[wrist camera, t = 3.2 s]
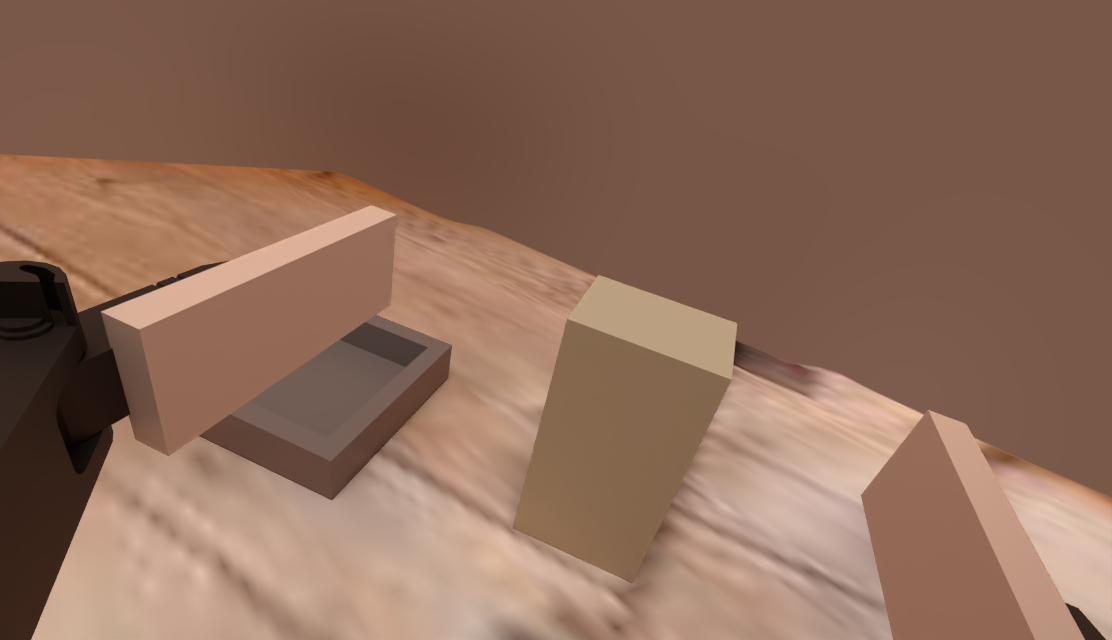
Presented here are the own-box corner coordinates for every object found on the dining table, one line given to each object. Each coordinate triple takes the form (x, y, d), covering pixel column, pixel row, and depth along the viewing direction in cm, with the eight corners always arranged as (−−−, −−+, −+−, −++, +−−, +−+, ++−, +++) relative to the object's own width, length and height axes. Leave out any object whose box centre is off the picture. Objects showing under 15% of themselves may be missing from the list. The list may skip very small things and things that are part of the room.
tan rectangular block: (649, 512, 32) (737, 323, 25) (632, 582, 28) (731, 379, 21) (544, 467, 33) (598, 275, 26) (513, 527, 29) (567, 318, 22)
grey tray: (447, 377, 39) (452, 345, 37) (331, 499, 28) (330, 461, 27) (287, 311, 41) (284, 278, 40) (127, 400, 31) (115, 360, 29)
